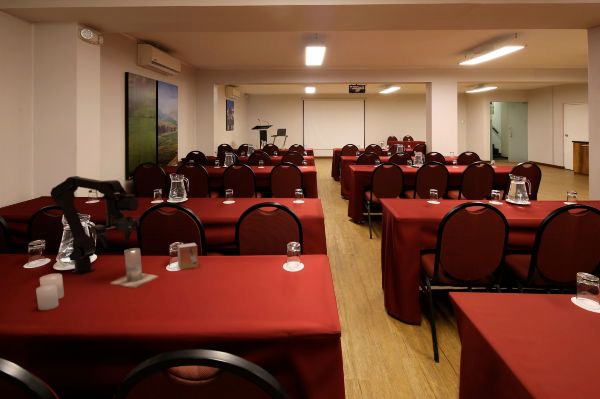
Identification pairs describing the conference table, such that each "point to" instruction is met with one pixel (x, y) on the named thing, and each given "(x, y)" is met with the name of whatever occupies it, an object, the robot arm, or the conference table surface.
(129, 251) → the steel flask
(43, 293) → the white squat cylinder
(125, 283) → the beige square tile
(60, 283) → the beige rounded block
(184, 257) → the small box
